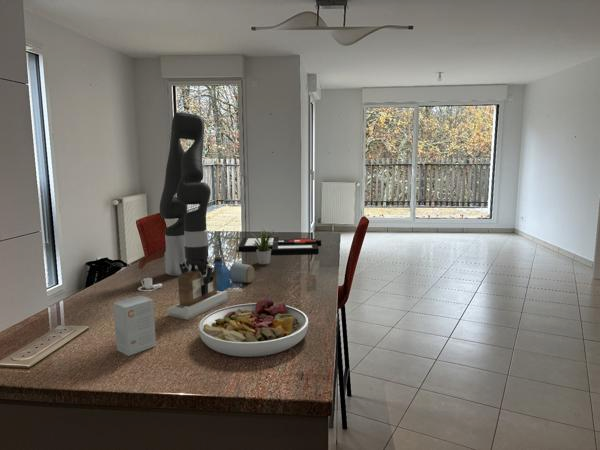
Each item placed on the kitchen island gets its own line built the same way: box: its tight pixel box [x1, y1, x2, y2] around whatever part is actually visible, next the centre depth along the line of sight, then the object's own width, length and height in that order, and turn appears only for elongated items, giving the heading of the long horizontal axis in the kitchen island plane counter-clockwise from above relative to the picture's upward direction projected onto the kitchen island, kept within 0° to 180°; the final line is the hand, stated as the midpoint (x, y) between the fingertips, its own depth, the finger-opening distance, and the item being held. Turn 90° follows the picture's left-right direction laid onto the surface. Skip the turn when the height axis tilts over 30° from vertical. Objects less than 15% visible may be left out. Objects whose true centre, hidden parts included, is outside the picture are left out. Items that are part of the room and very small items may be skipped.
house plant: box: [250, 229, 279, 265], centre depth 208 cm, size 14×14×16 cm
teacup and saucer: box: [137, 277, 163, 292], centre depth 171 cm, size 9×8×4 cm
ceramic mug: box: [229, 262, 256, 284], centre depth 179 cm, size 11×8×8 cm
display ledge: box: [167, 290, 229, 320], centre depth 147 cm, size 8×20×4 cm, turn 152°
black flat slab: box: [238, 236, 322, 255], centre depth 245 cm, size 36×3×45 cm
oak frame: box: [177, 265, 217, 307], centre depth 147 cm, size 14×4×10 cm, turn 152°
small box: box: [112, 295, 157, 357], centre depth 116 cm, size 8×6×13 cm
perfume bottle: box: [213, 256, 231, 292], centre depth 169 cm, size 6×6×12 cm
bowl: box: [198, 296, 309, 358], centre depth 123 cm, size 30×30×8 cm
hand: (198, 294), depth 147 cm, fingers closed on oak frame, 4 cm apart
